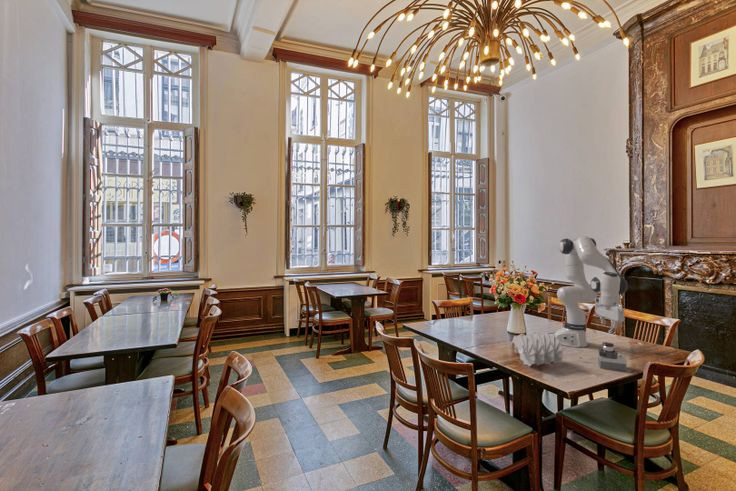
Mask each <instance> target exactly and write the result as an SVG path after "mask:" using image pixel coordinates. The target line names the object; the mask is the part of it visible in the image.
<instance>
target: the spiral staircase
mask: <svg viewBox="0 0 736 491" xmlns="http://www.w3.org/2000/svg"><path fill="white" fill-rule="evenodd" d="M521 334H522V333H520V334H519V335H514V336H513V338H512V340H511V342H514V343H513V345H514V346H515V345H516V346H517V347H518V352H519V354H518V355H519V359H520V360H521V362H523V365H527V366H528V367H530V368H531V367H532V365H536V366H537V367H539V366H540V365H544V364H548V365H550V364H551V363H555V364H556V365H557V364H559V362H562V361H563V359H564V353H563V352H564V348H563V345H561V343H560V341H559V340H558V339H557V338H556V337H555V335H554V334H552V333H549V331H547V332H545V333H539V332H536V333H535V334H534V335H533V334H532V333H530V334H524V336H522V335H521ZM516 336H517V337H516Z"/></svg>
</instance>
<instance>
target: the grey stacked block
mask: <svg viewBox="0 0 736 491" xmlns="http://www.w3.org/2000/svg"><path fill="white" fill-rule="evenodd" d="M597 358H598V362H597V363H598V366H599V368H600V369H604V370H611V371H612V370H613V371H620V372H627V362H628V361H627V359H626V357H625V356H624V355H623V354H620V353H619V354H618V351H617V350H615V349H613V353H609V352H604V351H603V347H602V348H598V357H597Z"/></svg>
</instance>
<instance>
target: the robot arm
mask: <svg viewBox="0 0 736 491" xmlns="http://www.w3.org/2000/svg"><path fill="white" fill-rule="evenodd" d="M558 246H559V247H558V248H559V252H561V253H562V255H565V256H564V269H565V277H566V279H567V280H569V281H570V282H572V284H573V285H574V286H573V285H572V286H568V285H567V286H562V287H559V288H558V289H557V292H556V297H557V299H558V301H560V302H561V303H562V304H563V305H564V307H565V310H566V321H564V320H563V321H562V326H563V327H561V328H559V329H558V330H556V331H555V333H554V334H553V335H555V337H556V338H557V339H558V340H559V341H560V343H561V346H565V347H566V346H567V347H570V348H571V347H572V348H582V347H583V348H584V347H587V346H588V341H587V336H586V333H587V323H586V320H587V319H586V315H587V314H586V312H585V310H584V309H582V308H581V307H579V304H580V303H581V304H582V303H584V304H585V303H591V302H595V304H594V313H595V315H597V316H599V320H600V323H601V325H606V324H607V321H606V319H609V320H612V321H613V324H612V325H611V326H612V327H611V328H612V329H615V330H616V329H618V325H619V324H620V323H623V322H624V321H625V320H626V319H625V310H624V308H623V306H622V304H620V295H622V294H624V293H626V292H627V290H628V287H629V285H628V281H627V280H626V279H625V277H623V276H622V275H621V273H620V272H619V271H618V269H617V268H616V267H615V265H614V264H613V263H612V261H611V260H610V259H609V258H608V257H606V256H605V255H603V253H601V252H600V251H599V250H598V248H597V241H596V240H595V239H594V238H592V237H588V236H579V237H573V238H572V237H571V238H563V239H561V240H560V241H559V244H558ZM584 265H587V266H592V267H596V268H599V269H601V270H602V271H604V272H602V274H600V275H598V276H595V277H593V278H592V279H591V280H590V282H588V280H587V278H586V275H585V274H586V273H585V269H584V268H585V267H584ZM598 294H600V297H598ZM605 318H606V319H605Z"/></svg>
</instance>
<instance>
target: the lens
mask: <svg viewBox="0 0 736 491" xmlns="http://www.w3.org/2000/svg"><path fill="white" fill-rule="evenodd" d="M601 344H602V348H603V351H604V352H609V353H613V350H614V346H615V344H614V343H612V342H602V343H601Z"/></svg>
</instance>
